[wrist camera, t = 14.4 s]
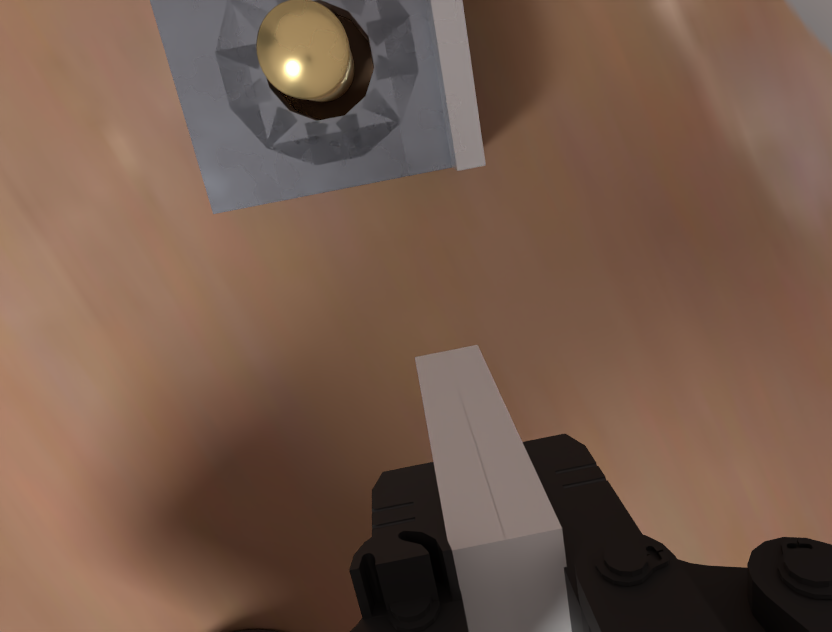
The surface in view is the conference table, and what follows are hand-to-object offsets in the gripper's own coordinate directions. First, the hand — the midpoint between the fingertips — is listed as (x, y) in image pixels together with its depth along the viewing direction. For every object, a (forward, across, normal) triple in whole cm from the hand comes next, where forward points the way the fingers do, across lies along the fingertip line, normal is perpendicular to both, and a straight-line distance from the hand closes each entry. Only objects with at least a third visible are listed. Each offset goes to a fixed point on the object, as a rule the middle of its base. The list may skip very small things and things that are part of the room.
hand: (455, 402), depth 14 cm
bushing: (+26, -3, +10) cm, 28 cm away
